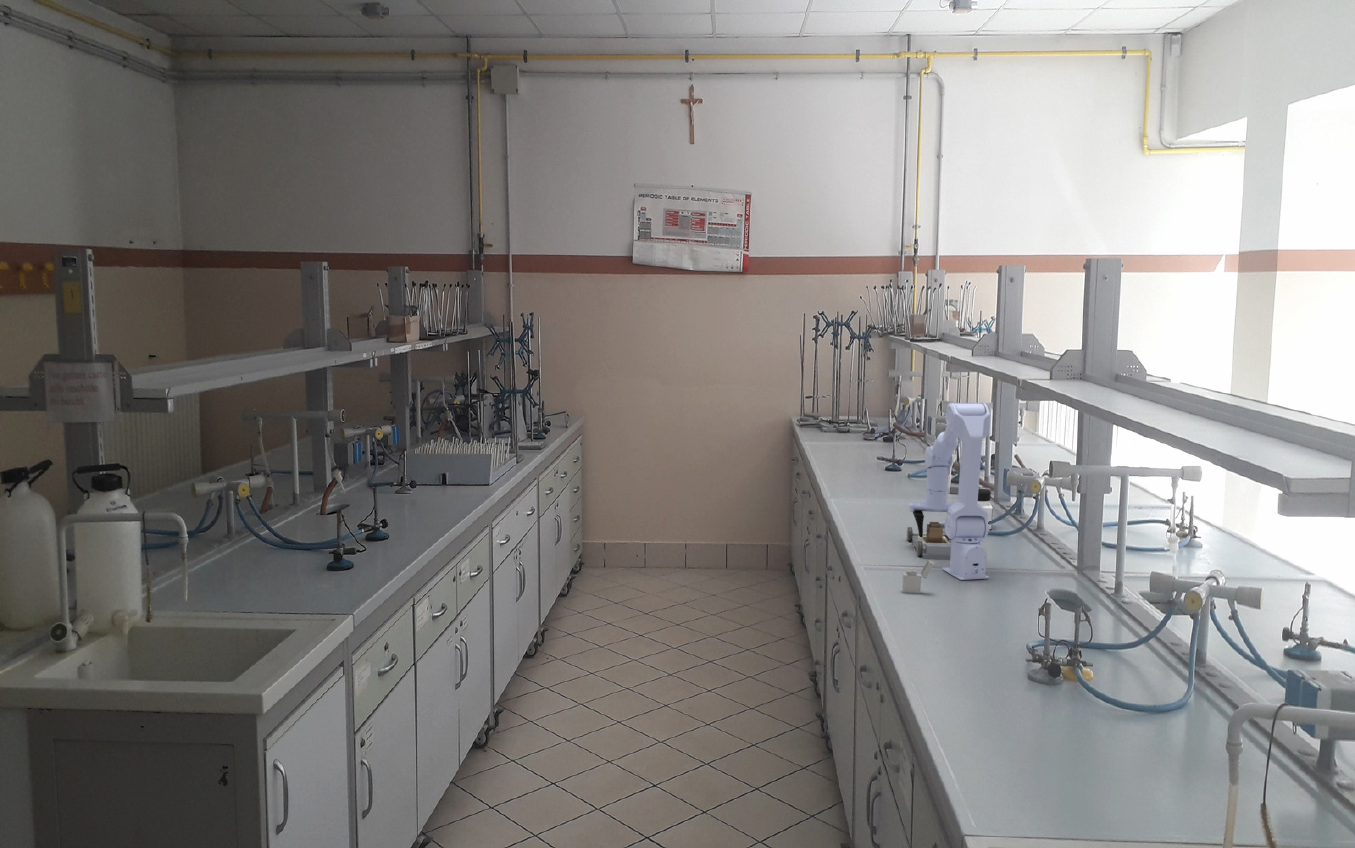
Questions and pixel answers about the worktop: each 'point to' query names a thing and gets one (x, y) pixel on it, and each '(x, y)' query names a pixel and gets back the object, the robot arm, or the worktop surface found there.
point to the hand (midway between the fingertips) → (934, 536)
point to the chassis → (929, 546)
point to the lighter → (915, 579)
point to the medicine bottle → (985, 502)
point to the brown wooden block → (934, 533)
